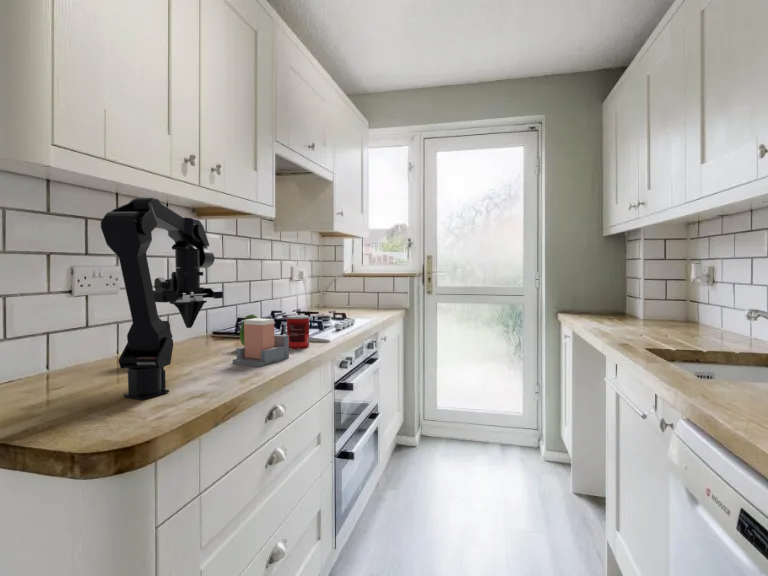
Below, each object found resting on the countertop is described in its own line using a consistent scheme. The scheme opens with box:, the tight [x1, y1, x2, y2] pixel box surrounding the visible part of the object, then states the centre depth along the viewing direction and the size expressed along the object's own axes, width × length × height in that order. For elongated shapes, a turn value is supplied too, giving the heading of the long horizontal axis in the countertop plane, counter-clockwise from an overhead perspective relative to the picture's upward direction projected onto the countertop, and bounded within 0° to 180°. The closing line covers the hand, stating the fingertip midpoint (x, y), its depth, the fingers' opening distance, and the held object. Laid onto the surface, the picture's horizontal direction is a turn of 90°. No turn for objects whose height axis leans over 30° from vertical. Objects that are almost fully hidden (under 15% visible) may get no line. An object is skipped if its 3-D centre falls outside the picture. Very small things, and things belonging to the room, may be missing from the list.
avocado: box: [239, 314, 258, 346], centre depth 148 cm, size 8×8×12 cm
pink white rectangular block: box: [243, 317, 275, 359], centre depth 129 cm, size 5×7×11 cm
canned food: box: [286, 314, 310, 350], centre depth 152 cm, size 8×8×11 cm
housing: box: [232, 333, 290, 367], centre depth 129 cm, size 13×11×7 cm
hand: (189, 327), depth 113 cm, fingers closed
